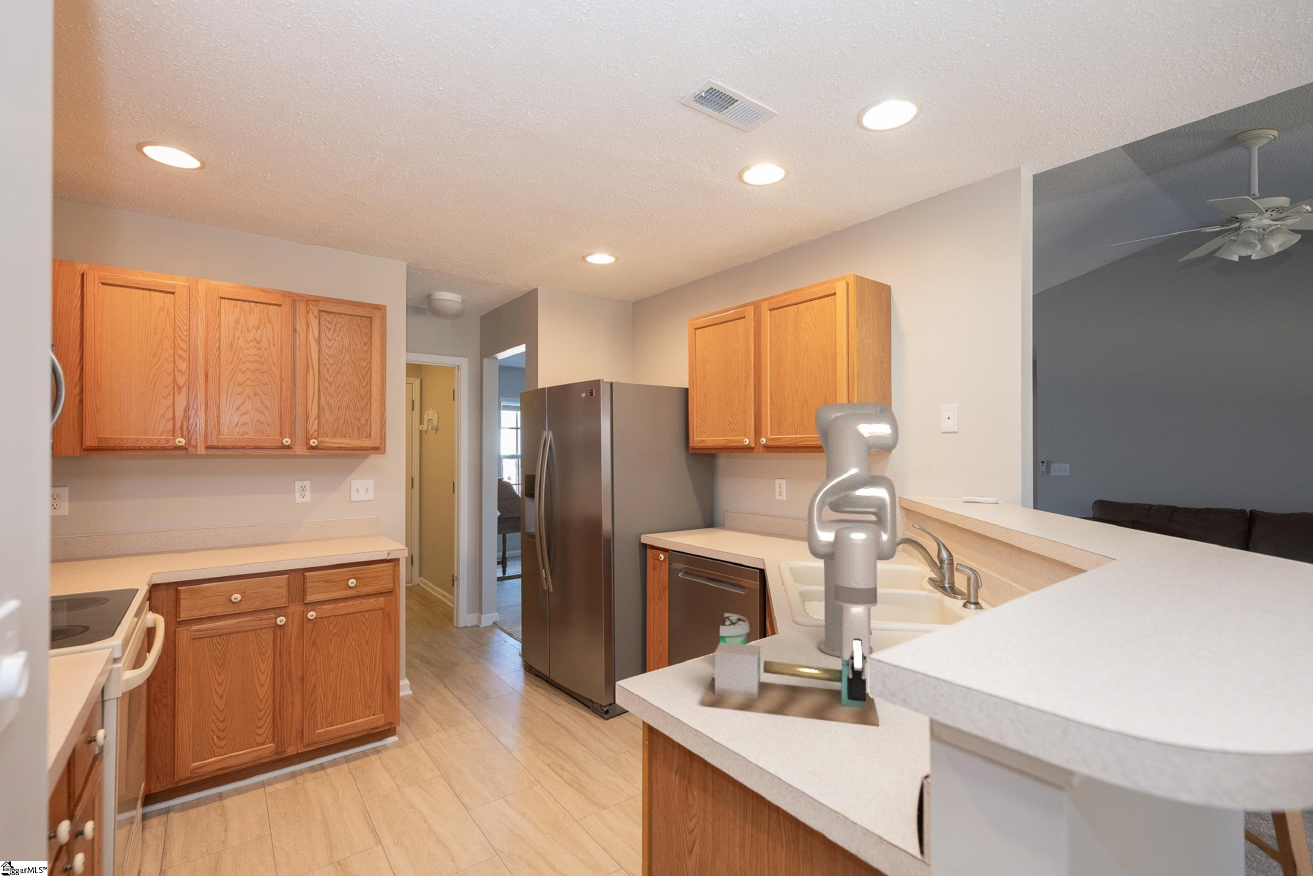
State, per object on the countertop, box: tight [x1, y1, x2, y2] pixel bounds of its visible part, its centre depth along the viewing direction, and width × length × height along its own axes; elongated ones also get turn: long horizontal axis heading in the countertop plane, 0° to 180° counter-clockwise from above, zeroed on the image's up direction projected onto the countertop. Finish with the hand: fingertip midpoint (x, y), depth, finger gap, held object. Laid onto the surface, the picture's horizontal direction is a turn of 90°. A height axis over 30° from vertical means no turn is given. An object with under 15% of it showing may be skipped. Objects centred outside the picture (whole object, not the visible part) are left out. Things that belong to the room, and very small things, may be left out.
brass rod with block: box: [762, 660, 863, 708], centre depth 111 cm, size 18×4×7 cm, turn 75°
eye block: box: [714, 642, 761, 699], centre depth 114 cm, size 8×6×8 cm
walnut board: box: [701, 676, 880, 727], centre depth 112 cm, size 31×12×1 cm, turn 75°
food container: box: [719, 612, 751, 645], centre depth 133 cm, size 12×6×10 cm, turn 168°
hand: (856, 695), depth 109 cm, fingers closed on brass rod with block, 3 cm apart
